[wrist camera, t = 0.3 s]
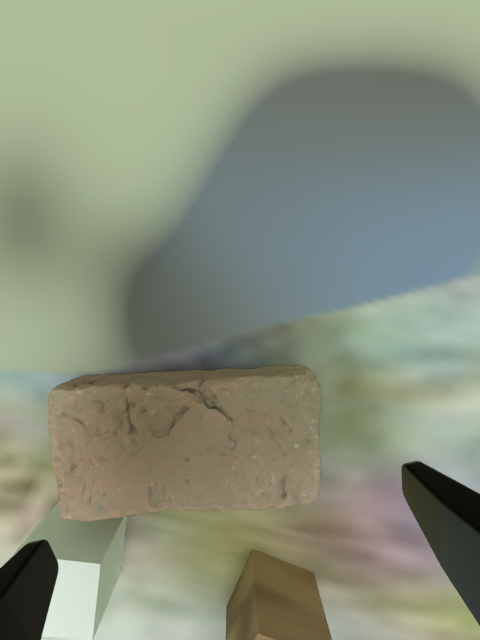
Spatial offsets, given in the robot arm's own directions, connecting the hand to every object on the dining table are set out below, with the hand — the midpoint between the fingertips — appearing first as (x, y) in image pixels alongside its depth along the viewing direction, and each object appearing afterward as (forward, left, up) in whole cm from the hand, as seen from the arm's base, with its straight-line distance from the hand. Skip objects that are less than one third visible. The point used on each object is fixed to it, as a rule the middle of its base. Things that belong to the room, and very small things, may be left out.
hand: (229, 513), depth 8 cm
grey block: (-16, +5, -15) cm, 22 cm away
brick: (-5, +1, -15) cm, 16 cm away
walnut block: (-15, -9, -15) cm, 23 cm away
